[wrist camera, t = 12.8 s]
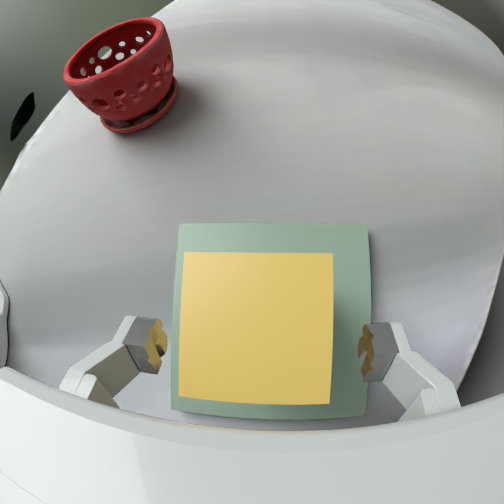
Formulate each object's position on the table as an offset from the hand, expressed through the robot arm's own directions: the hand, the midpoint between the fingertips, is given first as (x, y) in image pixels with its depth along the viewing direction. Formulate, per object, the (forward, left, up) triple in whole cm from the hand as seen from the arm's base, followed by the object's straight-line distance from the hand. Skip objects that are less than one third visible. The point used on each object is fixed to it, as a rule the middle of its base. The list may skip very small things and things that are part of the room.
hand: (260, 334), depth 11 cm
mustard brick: (0, 0, -6) cm, 6 cm away
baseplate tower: (0, 0, -15) cm, 15 cm away
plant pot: (-32, +7, -16) cm, 37 cm away
